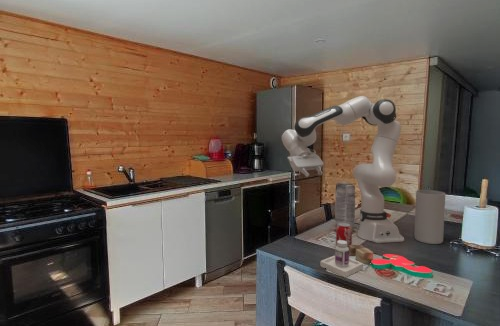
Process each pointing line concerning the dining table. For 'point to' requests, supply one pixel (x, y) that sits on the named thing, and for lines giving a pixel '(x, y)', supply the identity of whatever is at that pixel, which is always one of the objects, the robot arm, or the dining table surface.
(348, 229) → the soda can
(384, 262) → the pink script letter cutout
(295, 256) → the dining table surface
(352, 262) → the ceramic tray
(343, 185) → the mottled grey cylinder
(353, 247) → the walnut block
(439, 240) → the cylinder vase
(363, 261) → the oak block
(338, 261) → the pill bottle
